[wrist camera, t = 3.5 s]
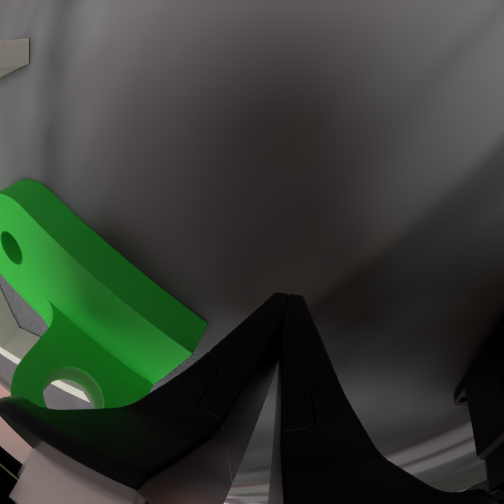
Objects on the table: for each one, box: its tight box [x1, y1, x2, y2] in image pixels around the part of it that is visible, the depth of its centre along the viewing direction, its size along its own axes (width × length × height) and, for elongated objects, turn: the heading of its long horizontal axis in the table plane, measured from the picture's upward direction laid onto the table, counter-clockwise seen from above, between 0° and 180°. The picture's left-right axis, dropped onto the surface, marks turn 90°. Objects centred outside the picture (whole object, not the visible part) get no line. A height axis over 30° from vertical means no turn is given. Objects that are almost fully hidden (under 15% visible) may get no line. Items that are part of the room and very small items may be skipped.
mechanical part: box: [0, 179, 208, 409], centre depth 10 cm, size 12×6×8 cm, turn 52°
